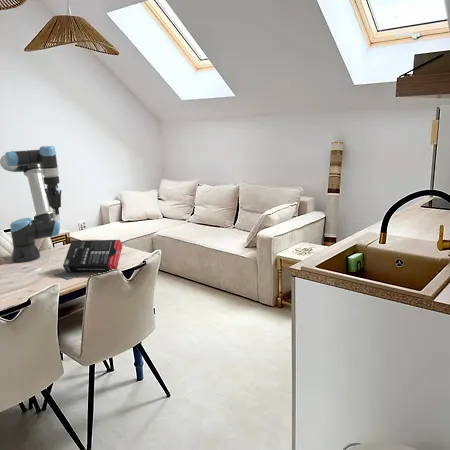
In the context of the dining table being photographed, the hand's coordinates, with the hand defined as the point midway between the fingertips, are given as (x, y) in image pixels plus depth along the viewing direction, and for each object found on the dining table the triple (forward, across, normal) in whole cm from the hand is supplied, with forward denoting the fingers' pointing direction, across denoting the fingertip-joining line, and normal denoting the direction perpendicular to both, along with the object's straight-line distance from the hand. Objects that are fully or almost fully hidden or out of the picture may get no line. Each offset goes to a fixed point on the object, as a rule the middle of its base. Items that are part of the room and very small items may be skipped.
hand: (56, 220), depth 226 cm
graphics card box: (+18, +9, -1) cm, 20 cm away
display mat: (+26, +15, 0) cm, 30 cm away
